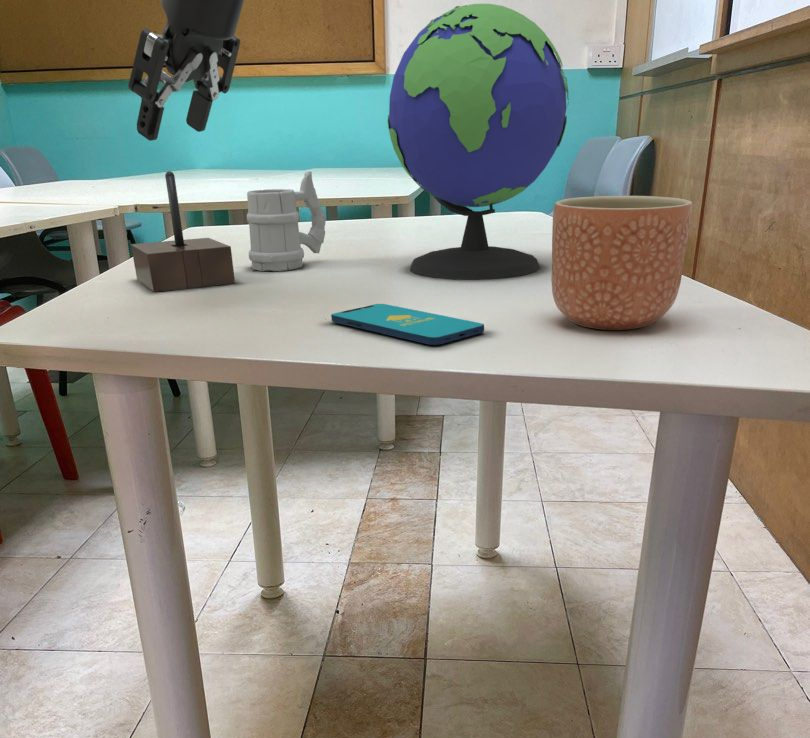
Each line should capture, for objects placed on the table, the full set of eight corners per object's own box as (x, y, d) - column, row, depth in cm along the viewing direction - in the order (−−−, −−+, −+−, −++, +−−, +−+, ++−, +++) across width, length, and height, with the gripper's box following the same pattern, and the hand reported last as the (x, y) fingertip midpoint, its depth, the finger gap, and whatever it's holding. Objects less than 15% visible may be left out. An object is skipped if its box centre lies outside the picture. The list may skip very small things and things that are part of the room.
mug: (240, 267, 114) (230, 174, 109) (313, 258, 120) (307, 169, 115) (264, 273, 109) (255, 176, 103) (340, 264, 115) (335, 171, 109)
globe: (369, 280, 103) (356, -2, 89) (417, 253, 122) (413, 17, 108) (545, 285, 97) (561, -17, 83) (567, 256, 116) (584, 6, 102)
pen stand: (153, 292, 99) (147, 253, 97) (136, 280, 107) (130, 244, 105) (235, 283, 103) (230, 246, 101) (213, 272, 111) (208, 237, 109)
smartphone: (434, 337, 72) (327, 312, 81) (434, 346, 72) (327, 321, 82) (488, 324, 76) (380, 302, 86) (488, 332, 76) (381, 310, 86)
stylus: (182, 282, 104) (165, 171, 98) (179, 281, 105) (163, 171, 99) (190, 281, 105) (174, 171, 99) (188, 280, 106) (172, 170, 100)
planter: (523, 317, 82) (528, 200, 77) (622, 304, 86) (633, 193, 81) (596, 344, 72) (608, 211, 67) (705, 327, 76) (724, 202, 71)
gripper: (221, -45, 85) (183, 108, 95) (130, -54, 74) (99, 119, 84) (278, -6, 85) (234, 143, 95) (195, -10, 74) (156, 159, 84)
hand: (171, 132), depth 90 cm, fingers open, 8 cm apart
